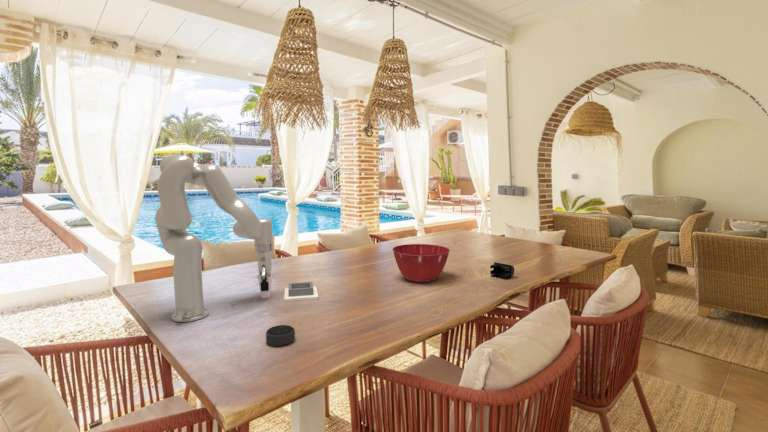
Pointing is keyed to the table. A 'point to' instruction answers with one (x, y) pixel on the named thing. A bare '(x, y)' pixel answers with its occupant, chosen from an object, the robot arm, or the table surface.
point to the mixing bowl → (420, 261)
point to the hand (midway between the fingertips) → (265, 288)
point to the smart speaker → (280, 335)
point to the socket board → (300, 291)
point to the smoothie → (267, 293)
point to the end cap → (502, 271)
